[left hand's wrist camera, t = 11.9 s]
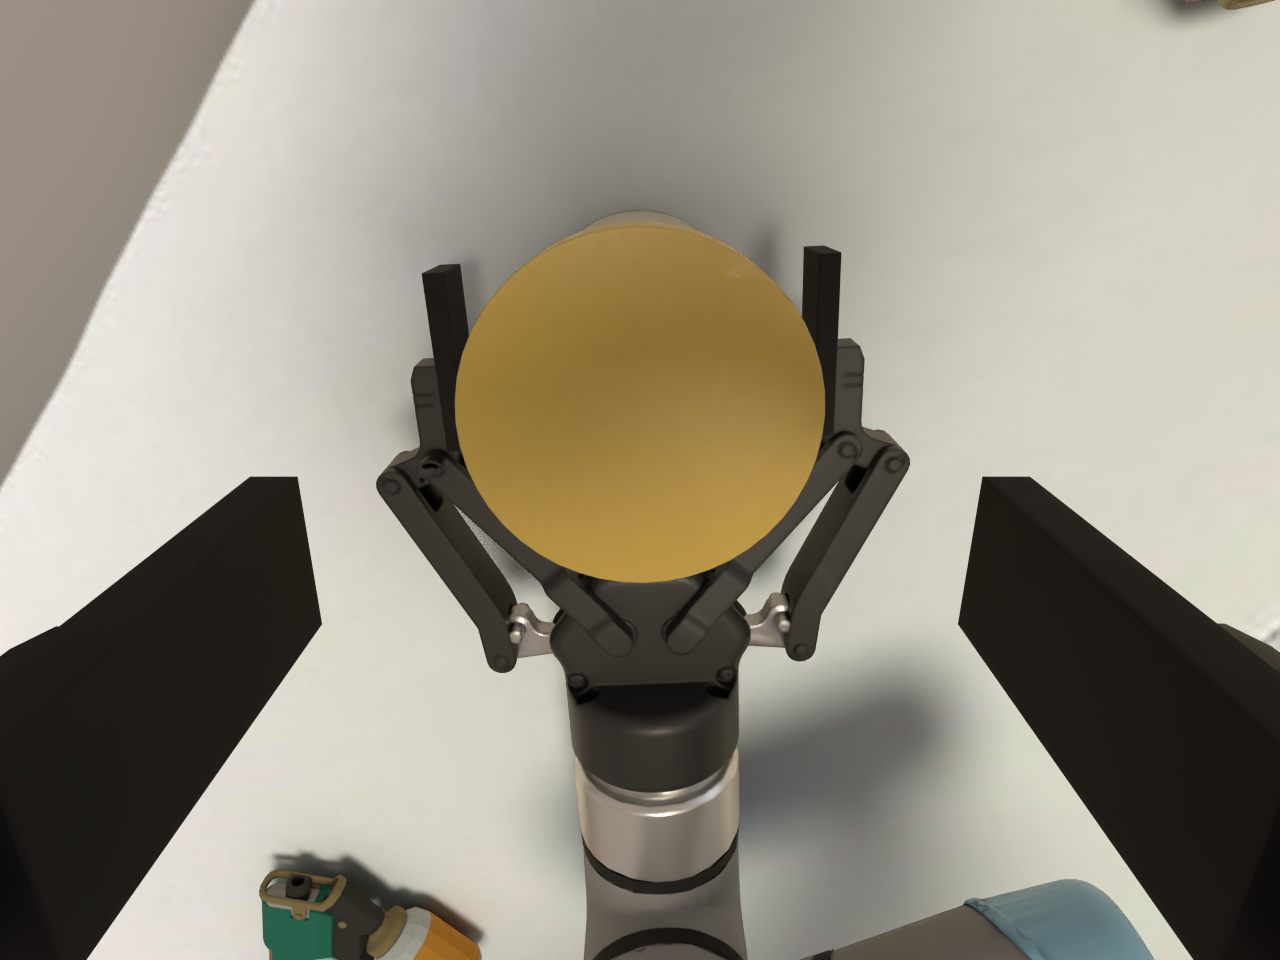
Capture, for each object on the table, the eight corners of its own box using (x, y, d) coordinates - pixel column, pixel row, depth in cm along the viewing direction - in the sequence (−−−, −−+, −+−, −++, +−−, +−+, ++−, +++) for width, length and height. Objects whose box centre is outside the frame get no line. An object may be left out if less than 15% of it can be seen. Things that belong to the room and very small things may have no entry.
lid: (800, 544, 24) (815, 579, 22) (488, 552, 24) (473, 587, 22) (817, 215, 20) (837, 220, 18) (453, 225, 21) (432, 231, 19)
